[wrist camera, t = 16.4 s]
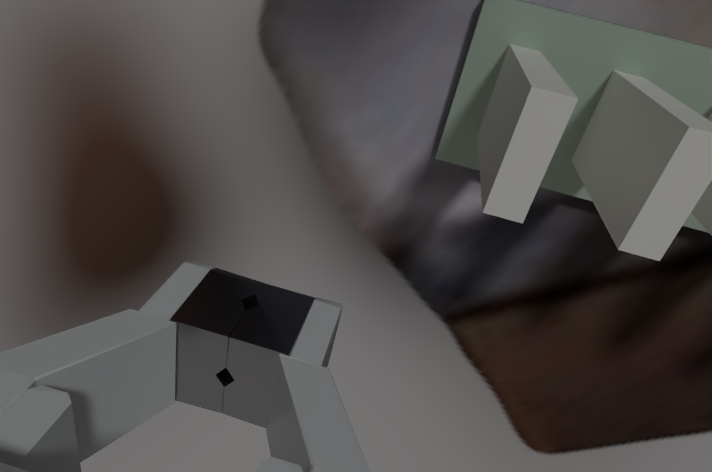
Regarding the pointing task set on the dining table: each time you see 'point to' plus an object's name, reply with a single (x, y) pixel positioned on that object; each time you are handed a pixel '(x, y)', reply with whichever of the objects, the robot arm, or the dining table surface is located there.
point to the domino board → (568, 77)
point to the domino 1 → (521, 132)
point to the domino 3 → (705, 205)
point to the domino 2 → (644, 163)
